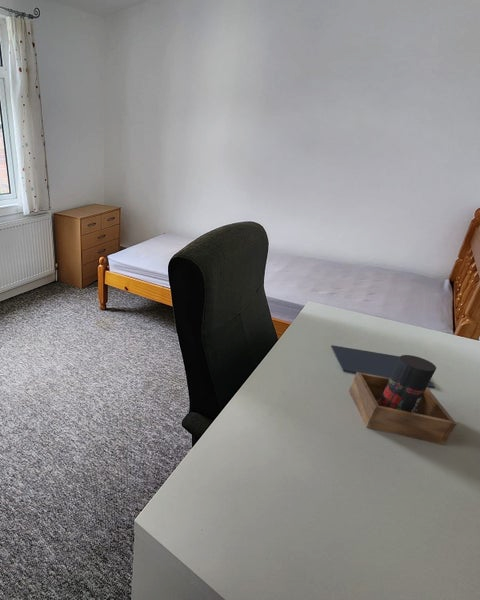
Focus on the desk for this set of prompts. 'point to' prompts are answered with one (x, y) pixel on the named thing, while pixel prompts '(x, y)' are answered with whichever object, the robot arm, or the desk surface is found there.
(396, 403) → the deodorant
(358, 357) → the desk mat
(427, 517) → the desk surface
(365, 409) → the wooden box
